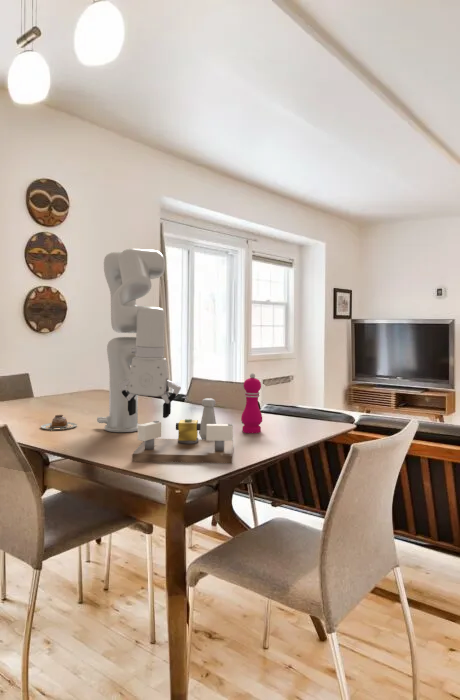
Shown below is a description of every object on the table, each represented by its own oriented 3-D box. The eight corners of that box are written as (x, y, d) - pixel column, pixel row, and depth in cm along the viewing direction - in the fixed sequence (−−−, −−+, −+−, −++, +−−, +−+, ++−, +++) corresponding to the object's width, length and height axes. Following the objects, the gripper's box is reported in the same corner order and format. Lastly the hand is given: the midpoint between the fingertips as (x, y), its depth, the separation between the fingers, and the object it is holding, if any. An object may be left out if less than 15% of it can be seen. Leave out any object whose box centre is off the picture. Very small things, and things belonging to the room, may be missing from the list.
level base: (132, 461, 131) (132, 428, 131) (145, 445, 150) (146, 416, 149) (231, 463, 130) (232, 430, 130) (233, 446, 149) (233, 418, 149)
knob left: (144, 451, 132) (145, 425, 132) (137, 450, 134) (137, 424, 133) (161, 446, 139) (161, 421, 138) (153, 445, 140) (154, 420, 140)
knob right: (206, 450, 135) (206, 424, 134) (206, 448, 137) (207, 423, 137) (232, 451, 134) (232, 425, 134) (232, 449, 137) (232, 423, 137)
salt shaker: (210, 442, 154) (210, 400, 153) (195, 440, 157) (195, 398, 156) (220, 439, 159) (221, 398, 158) (205, 437, 162) (206, 397, 161)
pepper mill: (260, 434, 167) (261, 374, 167) (239, 433, 169) (240, 373, 168) (263, 430, 174) (264, 372, 174) (243, 429, 176) (243, 372, 175)
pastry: (82, 425, 180) (82, 413, 179) (68, 432, 168) (68, 418, 167) (50, 424, 181) (50, 412, 180) (34, 431, 169) (34, 417, 168)
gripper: (114, 352, 133) (113, 416, 135) (176, 355, 130) (175, 420, 131) (125, 350, 141) (124, 411, 142) (184, 353, 137) (183, 415, 139)
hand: (149, 415), depth 137 cm, fingers open, 9 cm apart
